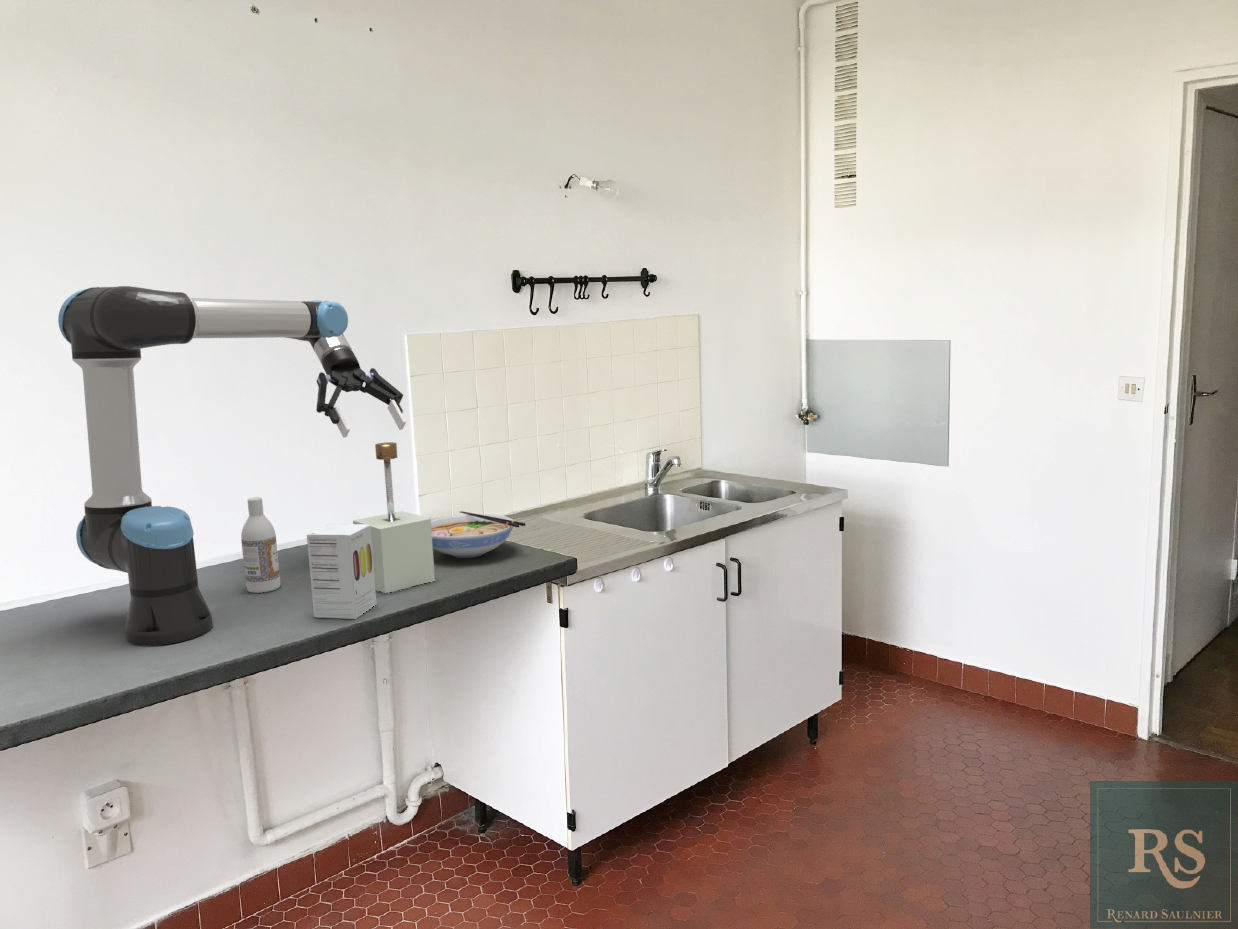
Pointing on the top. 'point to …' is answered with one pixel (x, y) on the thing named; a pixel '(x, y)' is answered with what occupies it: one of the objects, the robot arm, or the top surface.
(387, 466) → the plunger
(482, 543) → the ramen bowl
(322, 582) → the supplement box
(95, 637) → the top surface
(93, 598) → the top surface
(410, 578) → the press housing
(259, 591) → the bath foam
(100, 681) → the top surface
